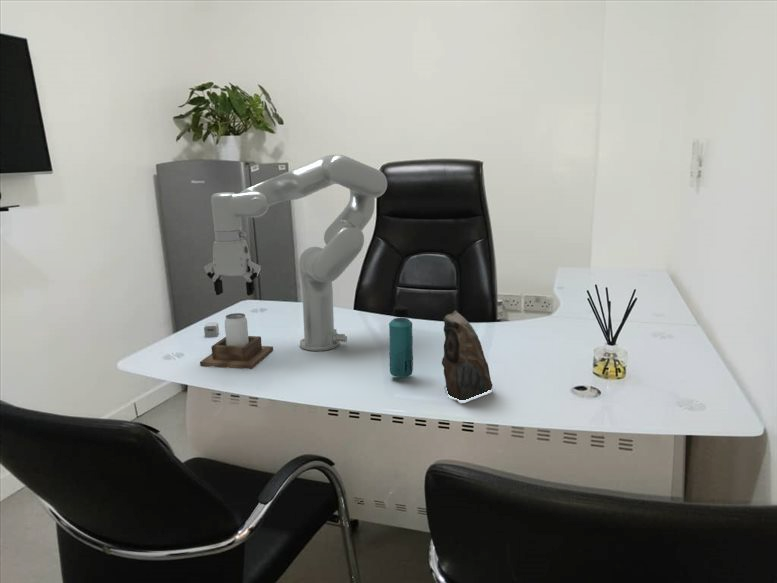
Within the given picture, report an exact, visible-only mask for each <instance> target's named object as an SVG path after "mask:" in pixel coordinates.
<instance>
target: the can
mask: <svg viewBox="0 0 777 583" xmlns="http://www.w3.org/2000/svg"><path fill="white" fill-rule="evenodd" d="M247 319H248V318H247V317H246V314H245V313H240V312H234V313H229V314H227V315H225V320H224V330H225V332H224V333H225V337H226V345H227V346H240V347H244V346H246V345H247V344H248V343H249V340H248V336H249V330H248V329H249V328H248V320H247Z"/></svg>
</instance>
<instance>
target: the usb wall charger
mask: <svg viewBox="0 0 777 583" xmlns="http://www.w3.org/2000/svg"><path fill="white" fill-rule="evenodd" d="M219 329H220V328H219V322H217V321H215V322H207V323H206V324H205V325H204V327H203V331H204V337H205V338H206V337H208V338H216V337H217V336H218V335H219V332H220V330H219Z"/></svg>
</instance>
